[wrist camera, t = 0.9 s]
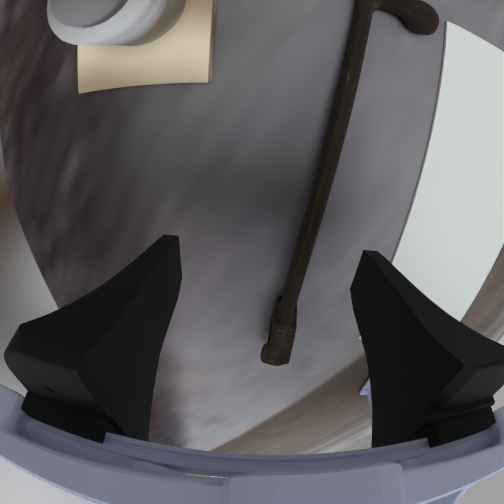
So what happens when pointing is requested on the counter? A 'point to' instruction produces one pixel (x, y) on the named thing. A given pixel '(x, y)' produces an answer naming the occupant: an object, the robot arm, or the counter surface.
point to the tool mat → (459, 179)
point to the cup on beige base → (137, 40)
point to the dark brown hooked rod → (334, 163)
